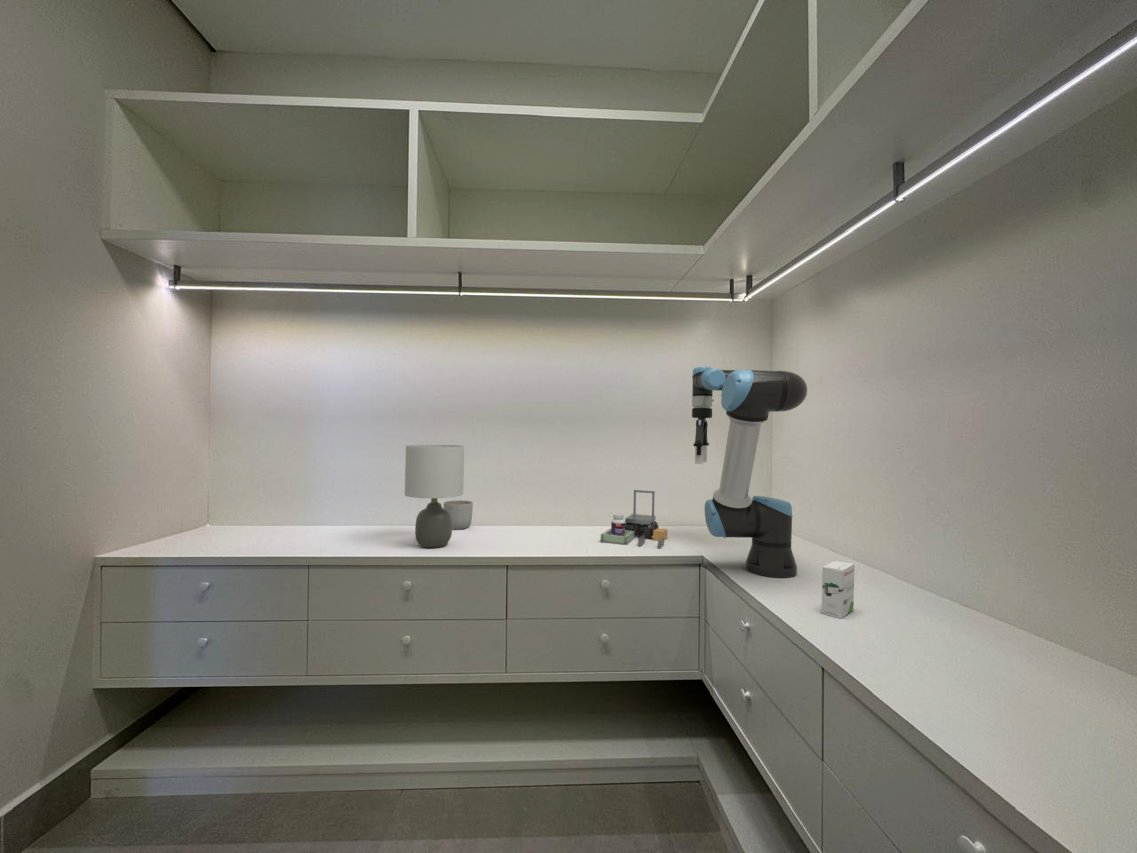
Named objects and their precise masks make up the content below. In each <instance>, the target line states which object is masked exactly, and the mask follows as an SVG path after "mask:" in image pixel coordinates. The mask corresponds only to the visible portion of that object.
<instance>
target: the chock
mask: <svg viewBox="0 0 1137 853" xmlns="http://www.w3.org/2000/svg"><path fill="white" fill-rule="evenodd" d="M661 537H664V542H665V541H666V540H668V528H667V529H666V528H660V527H659V528H658V529H656V530H654V531H653V536H652V541H654V542H658V540H659V539H660V538H661Z"/></svg>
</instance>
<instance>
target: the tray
mask: <svg viewBox="0 0 1137 853" xmlns="http://www.w3.org/2000/svg"><path fill="white" fill-rule="evenodd" d="M635 536H636V534H635V531H629V530H625V536H618V535H611V528H609V529H607V530H606V531H604V532H603V533H601V534H600V543H603V544H604V543H605V544H613V545H615V544H616V545H623V546H624V545H625V546H627V545H629V544H630V543H631V542H632V541H633V540H635Z"/></svg>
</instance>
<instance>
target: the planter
mask: <svg viewBox="0 0 1137 853" xmlns="http://www.w3.org/2000/svg"><path fill="white" fill-rule="evenodd" d="M473 506H474V502H473V501H471V500H460V499H459V500H448V501H444V502H443V508H444V509H446V510H447V511H448V512H449V513H450V516H451V521H452V530H465V529H468V528H469V527H470V526H471V525H472V519H473V510H474V509H473Z"/></svg>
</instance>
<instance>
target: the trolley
mask: <svg viewBox="0 0 1137 853" xmlns="http://www.w3.org/2000/svg"><path fill="white" fill-rule="evenodd" d="M655 492H656V491H654V490H641V489H640V490H639V489H634V490H633V509H632V510H633V512H632V514H629V515H628V516H627V517H625V518H624V521H625V530H629V531H635V535H637V533H638V534H639V536H640V537H641V536H642V535H645V540H647V539H648V540H649V539H650V538H653V531H654V530H656V529H658V528H660V527H659V523H658V522H657V521H656V520H657V519H656V517H657V516H656V515H655ZM637 493H642V494H643V493H645V494H652V496H651V515H648V514H639V513H638V514H637V511H636V510H637V507H636V505H637Z"/></svg>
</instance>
